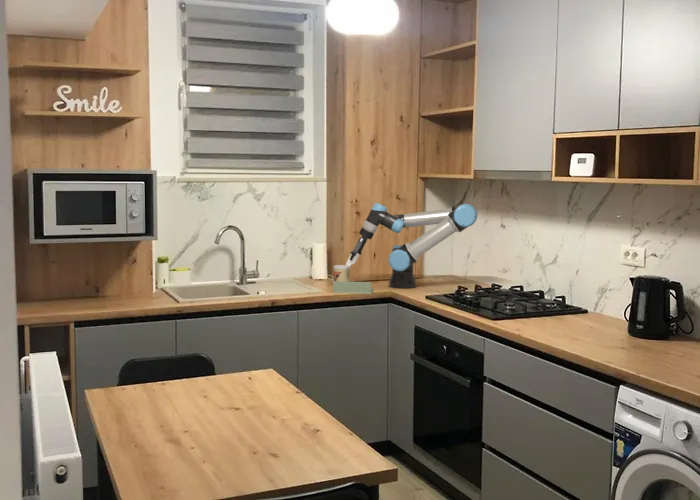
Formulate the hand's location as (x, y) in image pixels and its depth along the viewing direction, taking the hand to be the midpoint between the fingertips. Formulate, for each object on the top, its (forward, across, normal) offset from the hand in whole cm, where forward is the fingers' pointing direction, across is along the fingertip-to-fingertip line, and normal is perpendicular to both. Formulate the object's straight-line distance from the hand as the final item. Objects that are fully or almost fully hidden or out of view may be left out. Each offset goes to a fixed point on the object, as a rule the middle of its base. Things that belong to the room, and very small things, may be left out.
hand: (349, 264), depth 410 cm
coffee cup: (+14, -3, +2) cm, 15 cm away
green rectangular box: (+10, +9, +9) cm, 17 cm away
